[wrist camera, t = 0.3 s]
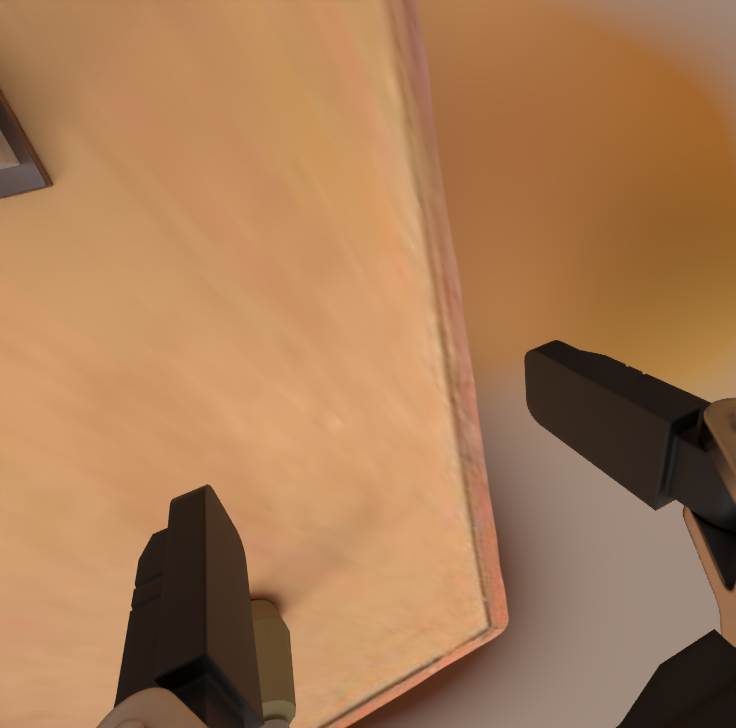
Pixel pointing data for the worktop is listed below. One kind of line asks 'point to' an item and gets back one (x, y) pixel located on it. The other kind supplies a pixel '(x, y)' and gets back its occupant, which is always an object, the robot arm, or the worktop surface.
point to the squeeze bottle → (274, 665)
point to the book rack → (17, 158)
